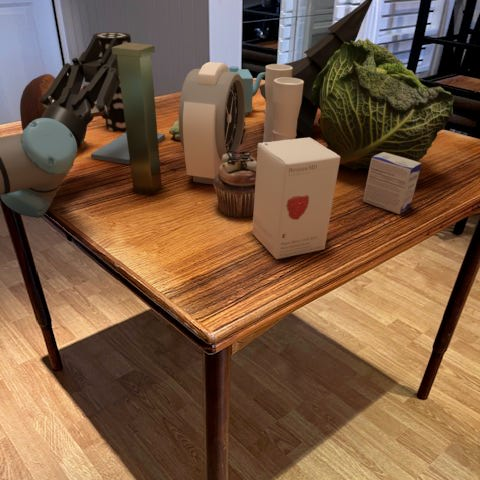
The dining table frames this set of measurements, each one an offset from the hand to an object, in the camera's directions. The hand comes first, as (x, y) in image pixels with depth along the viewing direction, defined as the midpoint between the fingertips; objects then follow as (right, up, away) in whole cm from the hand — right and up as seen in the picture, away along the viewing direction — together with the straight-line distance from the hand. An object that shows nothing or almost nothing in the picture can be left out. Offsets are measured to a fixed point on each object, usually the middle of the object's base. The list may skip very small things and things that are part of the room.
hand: (107, 44), depth 91 cm
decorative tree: (+42, -5, +29) cm, 52 cm away
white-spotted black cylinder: (-4, -5, +28) cm, 29 cm away
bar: (+1, -2, +6) cm, 7 cm away
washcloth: (+18, -8, +25) cm, 32 cm away
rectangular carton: (+33, -41, -15) cm, 55 cm away
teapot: (+24, +5, +41) cm, 48 cm away
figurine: (-14, -15, +15) cm, 25 cm away
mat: (+1, -14, +16) cm, 22 cm away
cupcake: (+26, -33, -6) cm, 43 cm away
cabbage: (+53, -20, +11) cm, 58 cm away
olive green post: (+8, -28, -1) cm, 30 cm away
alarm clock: (+20, -23, +6) cm, 32 cm away
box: (+53, -32, -3) cm, 62 cm away
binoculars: (+34, -20, +10) cm, 41 cm away
